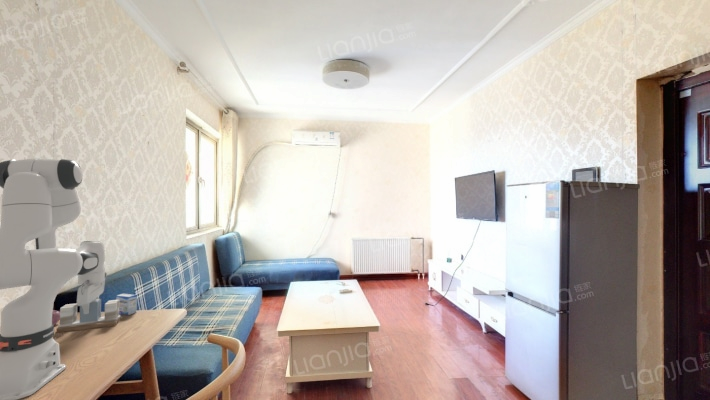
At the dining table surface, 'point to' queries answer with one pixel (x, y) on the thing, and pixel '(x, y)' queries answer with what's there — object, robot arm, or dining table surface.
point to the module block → (91, 312)
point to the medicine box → (127, 303)
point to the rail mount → (72, 323)
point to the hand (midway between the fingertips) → (90, 309)
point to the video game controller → (55, 317)
